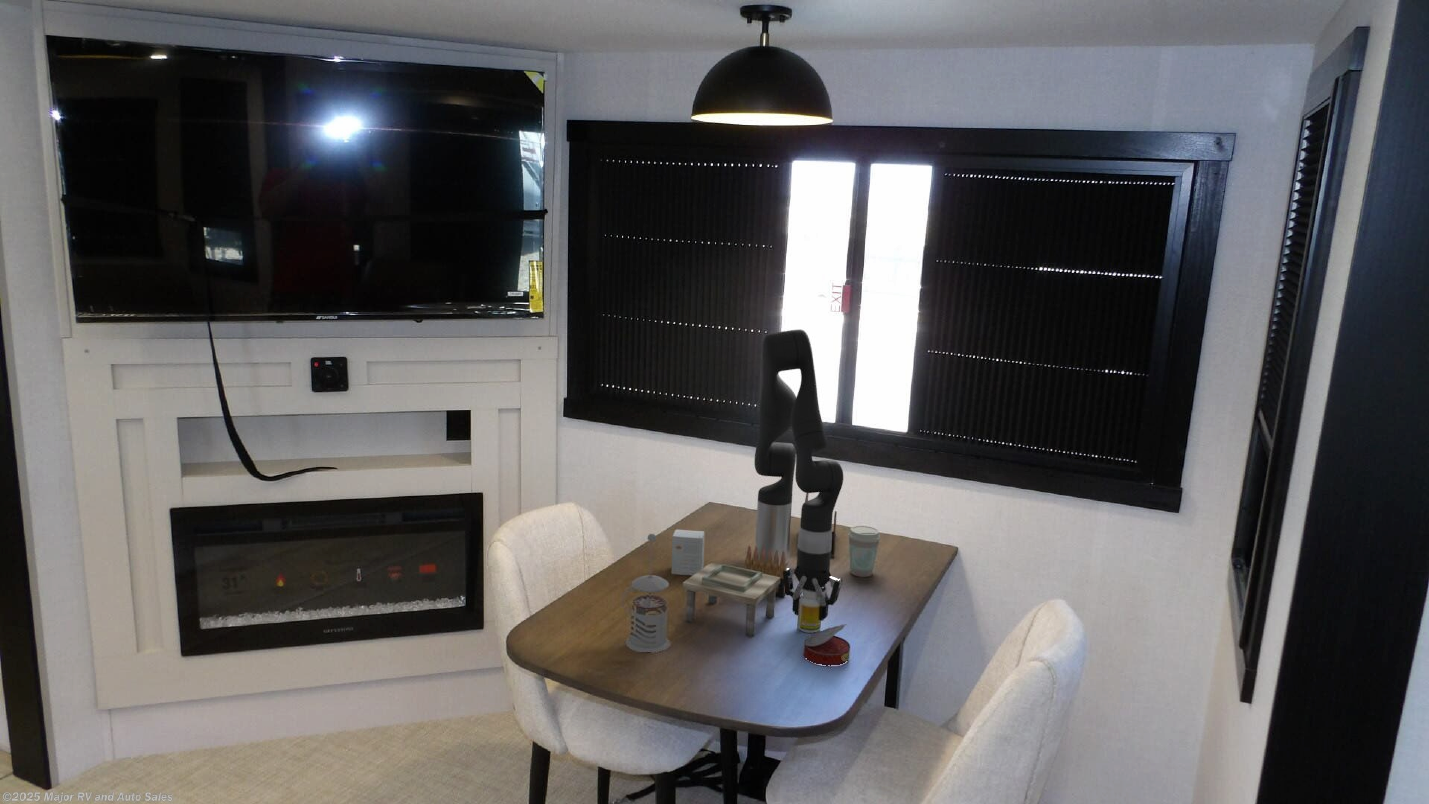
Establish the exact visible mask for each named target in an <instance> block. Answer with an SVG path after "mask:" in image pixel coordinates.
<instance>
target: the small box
mask: <svg viewBox="0 0 1429 804" xmlns="http://www.w3.org/2000/svg"><path fill="white" fill-rule="evenodd" d="M671 539H672V540H671V541H672V542H671V575H679V576H680V575H681V576H682V575H683V576H693V575H694V574H696V573H697V572H699V571H700V570H702V569H703V568H704V567H705V565H704V561H705V531H701V530H689V529H675V530H674V532H673V534H672V537H671Z"/></svg>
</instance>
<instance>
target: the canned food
mask: <svg viewBox="0 0 1429 804" xmlns="http://www.w3.org/2000/svg"><path fill="white" fill-rule="evenodd" d="M845 626H847V623H846V624H845V623H844V624H840V625H836V626H833V627H828V628H825V629H823V630H819V631H818V632H815V633H812V634H811V635H810V636H807V638H805V640H804V642H803V645H804V646H803V657H804V656H805V657H804V659H805V658H807V660H809V661H811V662H813V663H816V664H822V665H826V666H828V665H830V666H831V665H840V664H843V663H845V662H846V661H848V659H849V660H850V653H851V644H850V643H849V641H847V640H846V639H844V638H842V637H839V636H837V635H836V634H838V632H840V631H842V630H843V629H844V628H845ZM807 660H806V661H807ZM809 661H808V662H809ZM811 662H810V663H811ZM848 662H849V661H848ZM813 663H812V664H813Z"/></svg>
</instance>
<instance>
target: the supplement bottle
mask: <svg viewBox="0 0 1429 804" xmlns="http://www.w3.org/2000/svg"><path fill="white" fill-rule="evenodd" d="M820 605H821V602H820V599H819V597H818V596H817V593H816V591H813V590H811V589H804V588H803V592H802V595H800V599H799V608H798V615H797V620H796V621H797V622H796V623H797V624H796V627H797V630H799V631H801V632H804V633H807V634H815V633H817V632H819V631H821V629H822V627H821V626H822V625H821V623H822V621H821V620H819V615H820ZM814 632H815V633H814Z"/></svg>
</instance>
